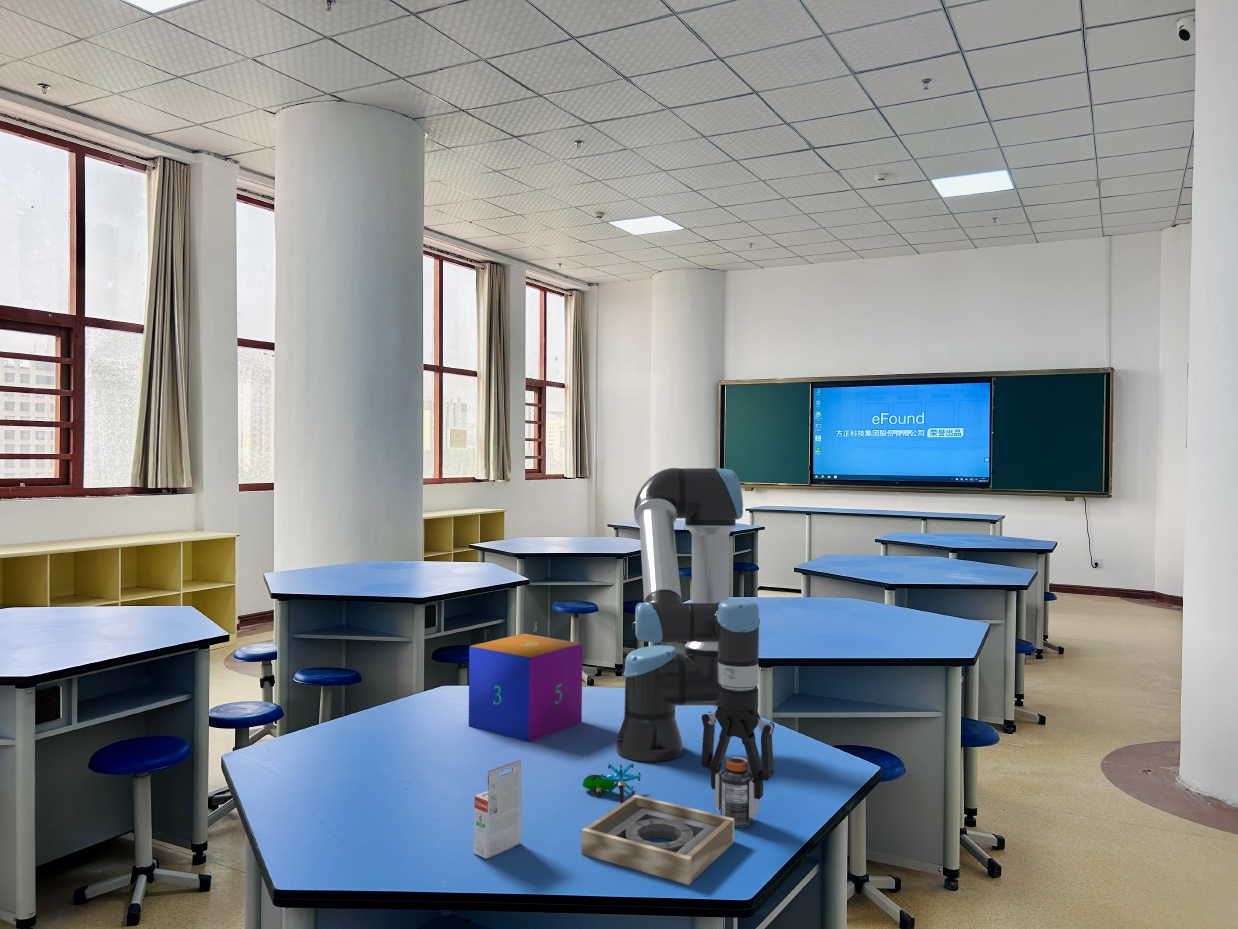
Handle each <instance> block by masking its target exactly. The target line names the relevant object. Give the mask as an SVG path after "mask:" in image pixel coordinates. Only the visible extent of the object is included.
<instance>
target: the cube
mask: <svg viewBox="0 0 1238 929" xmlns="http://www.w3.org/2000/svg"><path fill="white" fill-rule="evenodd" d="M468 658H469V660H468V727H470V728H472V729H473V728H474V729H478V730H482V731H485V732H488V733H493V734H496V735H500V736H503V737H508V738H512V739H516V740H519V741H523V742H526V743H531V742H533V741H536V740H538V739H541V738H543V737H546V736H549V735H552V734H554V733H557V732H559V731H562V730H565V729H567V728H570V727H572V726H574V725H577V724H580V723H582V722H583V718H582V716H583V714H582V713H583V712H582V711H583V709H582V708H583V643H582V642H577V641H571V640H570V641H569V640H565V639H557V638H552V637H547V636H541V635H535V634H529V633H521V634H515V635H512V636H508V637H503V638H499V639H494V640H490V641H486V642H481V643H476V644H473V645H470V646H469V650H468Z"/></svg>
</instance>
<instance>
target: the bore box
mask: <svg viewBox="0 0 1238 929" xmlns="http://www.w3.org/2000/svg"><path fill="white" fill-rule="evenodd" d="M735 829H736V827H735V819H734V818H730V817H726V816H722V815H721V814H718V813H713V812H708V811H704V810H700V809H697V808H693V807H688V806H684V805H680V804H676V803H672V802H667V801H662V800H659V799H654V798H651V797H645V796H642V795H638V794H634V795H632V796H630V797H629V798H628V799H626V800H624V802H623V803H620V804H619V805H617V806H616V807H614V808H613V809H611V810H610V811H608V812H606V813H605V814H604V815H602V816H600V817H599V818H598V819H596V820H595V821H593V822H592V823H590V824H588V825H586V826H585V827H584V828H582V829H581V843H580V844H581V846H580V850H581V852H580V853H581V855H584V856H588V857H590V858H594V859H597V860H601V861H604V862H608V863H612V864H615V865H618V866H622V867H626V868H628V869H633V870H634V871H638V872H642V873H644V874H645V873H646V874H650V875H652V876H656V877H659V878H663V879H667V880H669V881H673V882H677V883H680V884H684V885H686V886H690V884H692V883H693V882H694V881H695V880H696V879H697V878H698V877H699V876H700V875H701V874H703V872H705V870H706V869H707V868H709V866H710V865H711V864H712V863H713V862H715V861H716V860H717V859H718V858H719V857H720V856H721V855H722V854H723V853H724V852H726V850H727V849H728V848H730V846H732V845H733V843H734V842H735ZM649 839H667V840H671V841H667V842H652V841H649Z"/></svg>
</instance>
